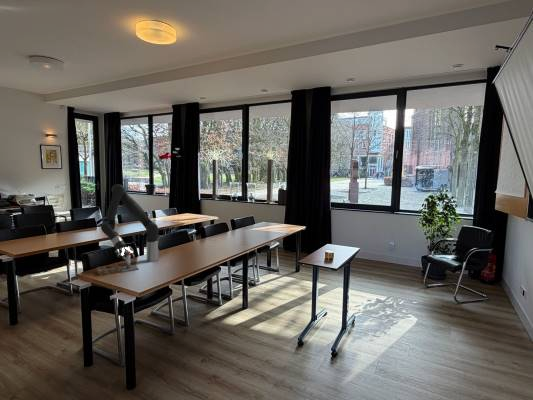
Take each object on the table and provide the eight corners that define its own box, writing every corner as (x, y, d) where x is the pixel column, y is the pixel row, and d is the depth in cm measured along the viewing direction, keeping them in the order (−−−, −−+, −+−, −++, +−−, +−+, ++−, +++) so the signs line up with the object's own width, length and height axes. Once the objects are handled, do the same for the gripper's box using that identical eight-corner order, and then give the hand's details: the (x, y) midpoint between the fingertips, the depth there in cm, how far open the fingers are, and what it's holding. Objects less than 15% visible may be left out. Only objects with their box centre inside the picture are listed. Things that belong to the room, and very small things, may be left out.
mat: (134, 266, 256) (134, 265, 256) (138, 269, 246) (138, 268, 246) (118, 268, 249) (118, 267, 248) (122, 272, 239) (122, 271, 239)
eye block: (117, 268, 249) (116, 264, 248) (120, 272, 239) (120, 267, 239) (97, 271, 240) (97, 267, 240) (99, 275, 231) (99, 271, 231)
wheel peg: (130, 267, 250) (130, 252, 249) (131, 268, 247) (131, 253, 246) (125, 267, 248) (124, 252, 247) (126, 269, 244) (126, 253, 243)
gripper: (113, 241, 242) (124, 258, 238) (128, 238, 255) (139, 253, 251) (108, 247, 244) (119, 264, 241) (123, 244, 257) (134, 259, 254)
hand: (129, 258), depth 246 cm, fingers open, 8 cm apart
